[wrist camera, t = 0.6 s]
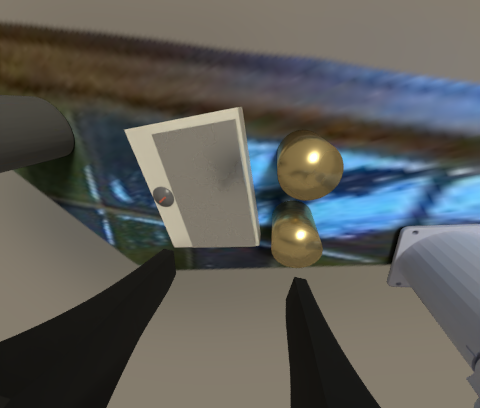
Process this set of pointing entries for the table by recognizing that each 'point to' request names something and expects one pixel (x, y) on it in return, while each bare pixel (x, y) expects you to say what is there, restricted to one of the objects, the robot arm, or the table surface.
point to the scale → (158, 178)
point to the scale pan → (209, 183)
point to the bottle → (31, 132)
